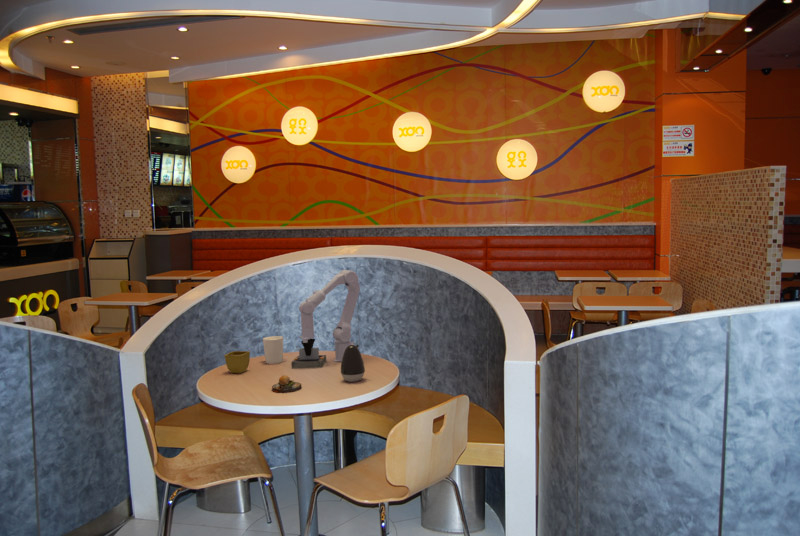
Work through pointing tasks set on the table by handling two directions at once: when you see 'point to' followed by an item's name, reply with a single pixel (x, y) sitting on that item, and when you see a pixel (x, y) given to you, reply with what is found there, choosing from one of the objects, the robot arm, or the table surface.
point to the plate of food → (286, 385)
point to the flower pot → (237, 361)
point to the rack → (309, 362)
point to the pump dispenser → (352, 364)
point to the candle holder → (273, 349)
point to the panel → (313, 355)
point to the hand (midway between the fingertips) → (308, 354)
